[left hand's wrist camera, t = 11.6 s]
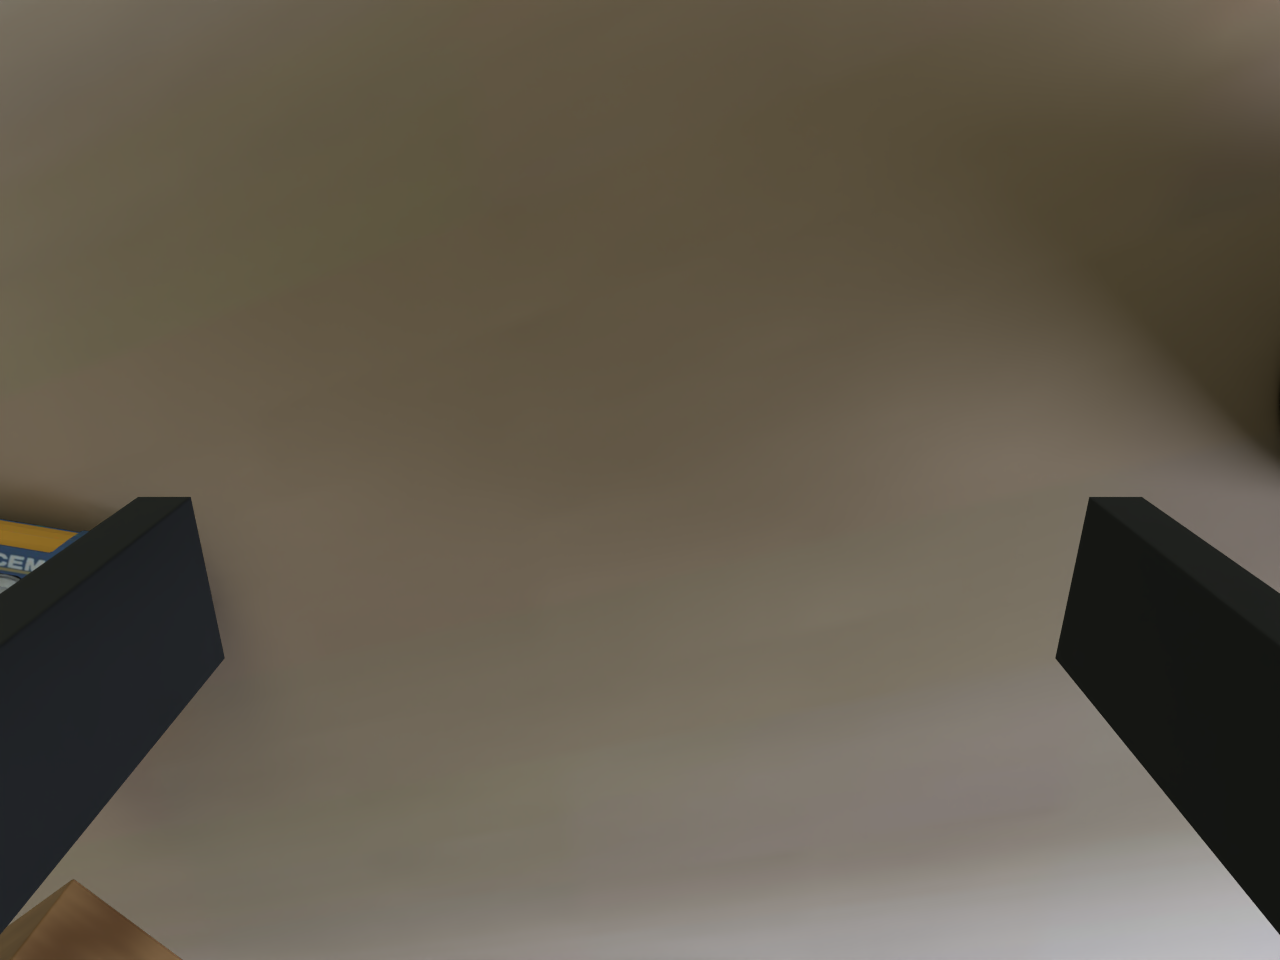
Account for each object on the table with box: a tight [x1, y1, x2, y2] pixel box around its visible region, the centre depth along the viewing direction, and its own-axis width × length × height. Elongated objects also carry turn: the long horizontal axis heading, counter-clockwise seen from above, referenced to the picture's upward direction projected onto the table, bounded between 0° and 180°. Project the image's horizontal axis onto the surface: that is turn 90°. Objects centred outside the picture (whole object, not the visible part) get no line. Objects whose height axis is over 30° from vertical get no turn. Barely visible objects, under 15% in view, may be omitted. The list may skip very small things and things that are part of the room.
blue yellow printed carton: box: [0, 519, 89, 593], centre depth 45 cm, size 21×4×15 cm
